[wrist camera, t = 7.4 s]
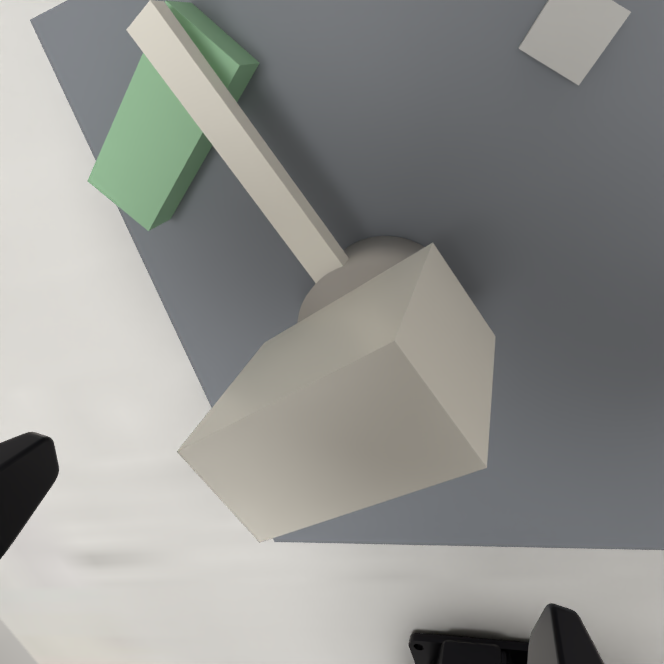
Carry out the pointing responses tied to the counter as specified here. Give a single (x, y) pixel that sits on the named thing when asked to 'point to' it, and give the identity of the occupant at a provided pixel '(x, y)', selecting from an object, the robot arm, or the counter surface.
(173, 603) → the counter surface
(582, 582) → the counter surface
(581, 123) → the dial plate
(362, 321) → the tuning peg
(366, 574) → the counter surface
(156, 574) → the counter surface
